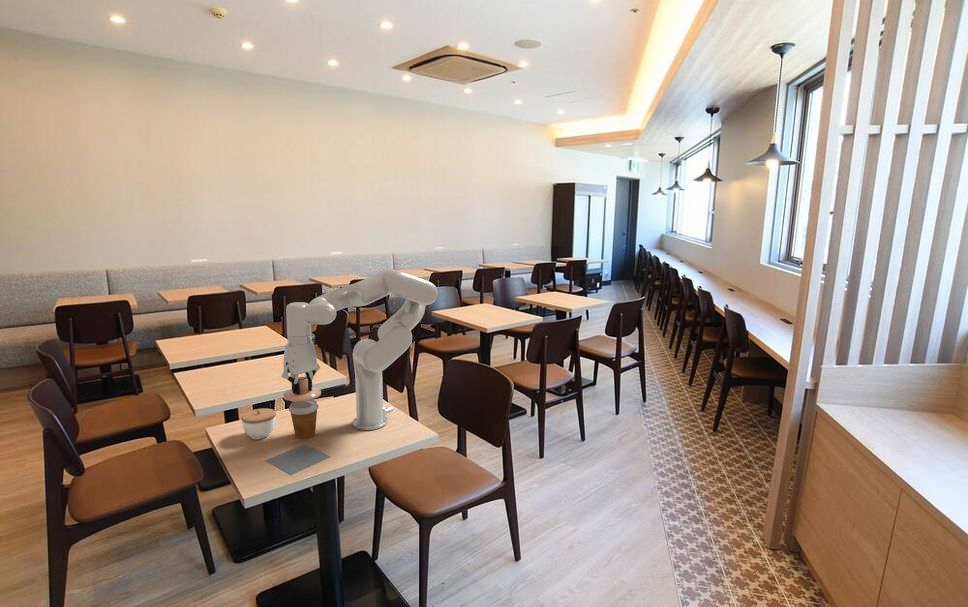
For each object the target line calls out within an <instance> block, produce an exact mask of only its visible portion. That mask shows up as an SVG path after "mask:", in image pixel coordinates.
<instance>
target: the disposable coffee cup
mask: <svg viewBox="0 0 968 607" xmlns="http://www.w3.org/2000/svg"><path fill="white" fill-rule="evenodd" d="M318 409H319V404H318V402H317V400H315V399H312V400H308V401H300V402H294V401H291V403H290V405H289V407H288V411H289V412H290V417H291V420H292V425H293V426H292V428H293V431H294V435H295V438H296V439H297V440H308V439H311V438H313V437H314V436H315V435H316V426H317V418H318V417H317V416H318Z"/></svg>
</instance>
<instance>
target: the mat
mask: <svg viewBox="0 0 968 607" xmlns="http://www.w3.org/2000/svg"><path fill="white" fill-rule="evenodd" d="M330 458H331V455H329V454H327V453H325V452H322V451H320V450H318V449H317V448H314V447H313V446H310V445H308V444H305V443H304V444H302V445H299V446H297V447H294V448H291V449H290V450H287V451H284V452H282V453H279V454H277V455H274V456H273V457H270V458H268V459H265V460H264V461H265V462H267V463H268V464H270V465H272V466H273V467H276V468H277V469H279V470H281V471H282V472H284V473H287V474H288V475H290V476H292V475H295V474H296V473H299V472H301V471H303V470H305V469H308V468H310V467H312V466H314V465H316V464H318V463H320V462H323V461H325V460H328V459H330Z"/></svg>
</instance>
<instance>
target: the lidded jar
mask: <svg viewBox="0 0 968 607" xmlns="http://www.w3.org/2000/svg"><path fill="white" fill-rule="evenodd" d="M276 413H277V412H276V411H275V410H274V409H272V408H255V409H252V410H250V411H246V412H245V413H243V414H242V415H241V423H242V428H243V431H244V432H245V434H246V435H247V436H248V437H250V438H251V439H253V440H262V439H265V437H266V438H268V437H269V436H270V434H272V432H273V431H274V430H275V427H276V421H277V420H276V418H277V417H276V415H277V414H276Z"/></svg>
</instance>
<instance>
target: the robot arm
mask: <svg viewBox="0 0 968 607" xmlns="http://www.w3.org/2000/svg"><path fill="white" fill-rule="evenodd" d="M390 294H391V295H395V296H397V297H400V298H402V299H404V302H403V305H402V306H401V307H400V308H399V309H398V310H397V311H396V312H395V313H394V314H392V316H391V317H390V316H389V318H388V319H387V320H386V321H384V322H383V323H382V324H381V325H380V327H378V329H377V338H378V340H377V341H375V340H373V339H370V338H363V339H361V340H359V341H357V343H356V344H355V345H354V347H353V350H352V360H353V366H354V375H355V377H354V379H355V407H356V408H355V409H356V410H355V411H356V417H355V418H354V419H353V420H352V421H351V422H352V423H351V424H352V426H353V427H354V428H355V429H356V430H361V431H375V430H378V429H381V428H383V427H385V426H386V425H387V424H388V420H389V419H388V417H387V416H386V415H387V414H390V413H392V412H393V411H394V409H393V407H392V406H389V407H385V406H384V399H383V398H384V397H383V395H384V392H383V391H384V390H383V371H384V370H386V369H387V368H388V367H389V366H390V365H392V364H393V363H394V362H395V361H396V360H397V359H398V358H400V357H401V356H402V355H403V354H404V353H405V352H406V351H407V350H408V349H409V348H410V346H411V343H412V341H413V334H412V330H413V329H414V328H415V327H416V326H417V325H418V324H419V323H420V321H422V318H423V317H424V314H425V311H426V306H429V305H432V304H433V303H435V302H436V301H437V299H438V296H439V291H438V288H437V286H436V285H435V284H434V283H432V282H430V281H428V280H426V279H422V278H419V277H417V276H413V275H411V274H409V273H406V272H404V271H401V270H397V269H394V268H387V269H384V270H383V271H382V270H381V271H380V272H378V273H375V274H373V275H371V276H369V277H367V278H364V279H361V280H360V281H357V282H355V283H352V284H348V285H346V286H343V287H339V288H336V289H333V290H331V291H329V292H326V293H324V294H321V295H319V296H317V297H315V298H313V299H312V300H311V301H310V302H309V303H308V302H304V301H303V302H302V301H301V302H299V301H298V302H297V301H296V302H290V303H289V304H287V305H286V308H285V310H286V312H285V314H286V315H285V316H286V331H287V344H285V346H284V350H283V351H284V352H283V372H282V374H281V378H282V379H286V380H287V381H289V383H291V389H292V392H293V393H294V394H296V395H299V394H300V389H299V383H298V377H299V375H302V374H304V375H305V377H308V390H309V391H312V387H313V380H314V376H315V375H316V374H317V372H318V371H319V370H320V369H321V366H320V365H319V363H318V362H317V361H318V357H317V351H316V347H315V343H314V341H313V338H315V334H314V333H312V325H329V324H331V323H332V322H333V321H335V320H336V317H337V312H338V311H340V310H343V309H346V308H351V307H363V306H367V305H370V304H372V303H375V302H376V301H378V300H381V299H383V298H384V297H387V296H389V295H390ZM289 374H290V375H289Z"/></svg>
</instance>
